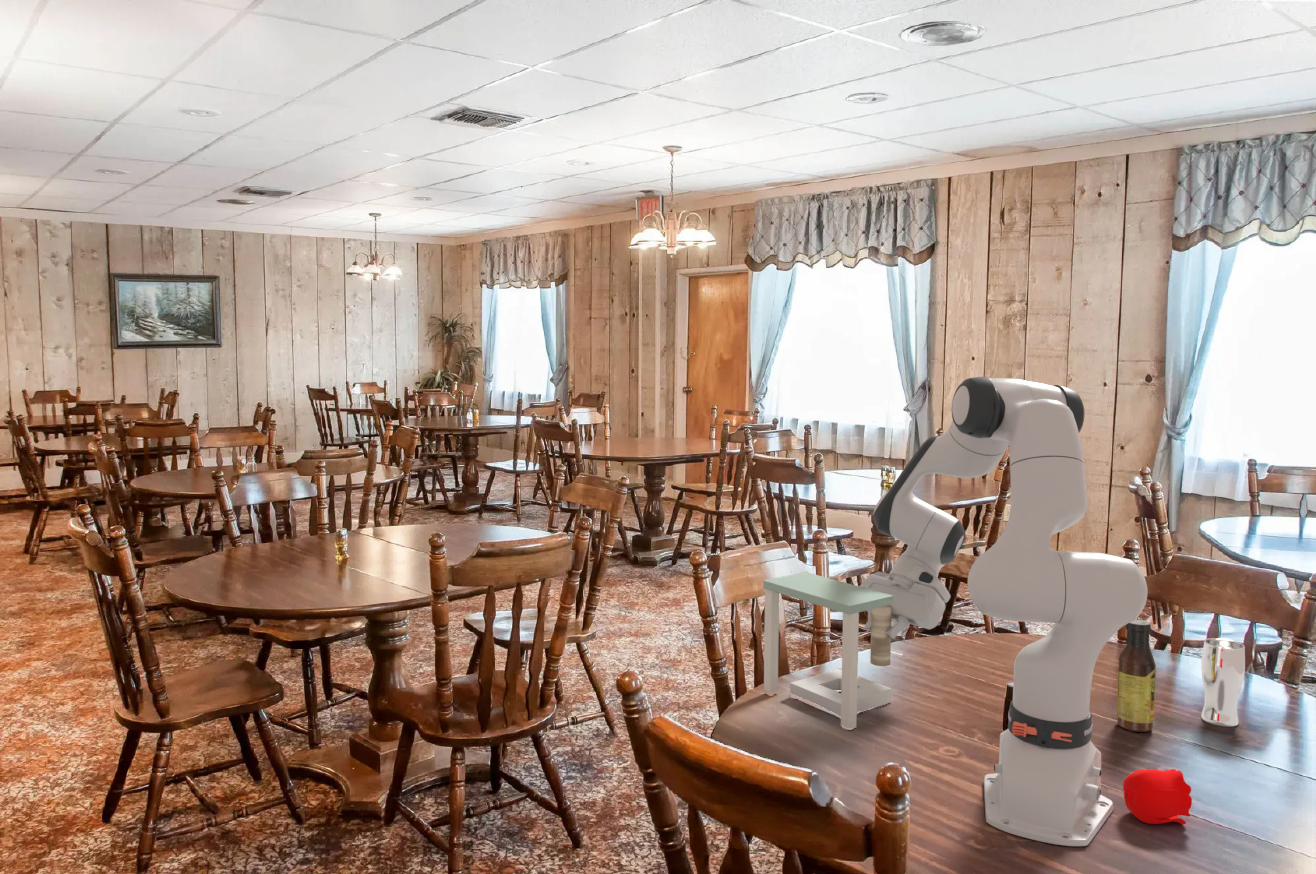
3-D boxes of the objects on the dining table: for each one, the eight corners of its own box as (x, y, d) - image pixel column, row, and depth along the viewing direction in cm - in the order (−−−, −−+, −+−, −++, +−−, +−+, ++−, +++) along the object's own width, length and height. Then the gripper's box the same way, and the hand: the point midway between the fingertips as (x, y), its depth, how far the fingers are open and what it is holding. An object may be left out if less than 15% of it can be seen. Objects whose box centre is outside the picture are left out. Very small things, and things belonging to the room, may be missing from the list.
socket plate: (838, 682, 196) (838, 668, 196) (890, 703, 185) (891, 688, 185) (790, 697, 188) (790, 682, 188) (841, 719, 177) (842, 704, 176)
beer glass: (1229, 714, 180) (1234, 638, 178) (1248, 728, 173) (1253, 649, 171) (1191, 712, 180) (1196, 637, 179) (1209, 727, 173) (1213, 648, 172)
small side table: (804, 682, 197) (806, 572, 194) (890, 716, 178) (893, 595, 176) (761, 694, 190) (763, 580, 187) (846, 732, 171) (849, 606, 169)
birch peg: (891, 666, 190) (892, 609, 189) (871, 665, 191) (872, 608, 190) (889, 660, 194) (890, 603, 193) (869, 659, 195) (870, 603, 194)
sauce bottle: (1158, 735, 170) (1163, 628, 168) (1121, 732, 171) (1126, 626, 169) (1147, 721, 176) (1152, 618, 174) (1111, 718, 177) (1116, 616, 176)
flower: (1111, 769, 144) (1163, 768, 144) (1120, 823, 142) (1173, 822, 142) (1132, 769, 137) (1188, 769, 137) (1142, 826, 134) (1199, 826, 134)
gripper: (866, 561, 203) (834, 612, 199) (944, 580, 187) (911, 636, 182) (879, 578, 206) (848, 629, 202) (957, 598, 190) (925, 654, 185)
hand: (878, 633), depth 192 cm, fingers closed on birch peg, 4 cm apart
